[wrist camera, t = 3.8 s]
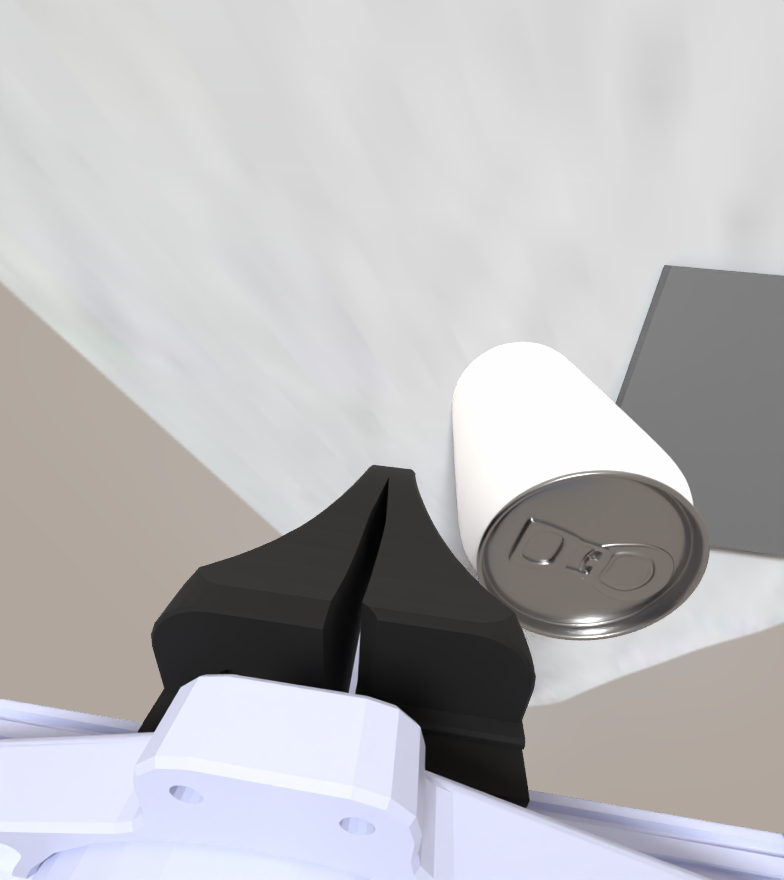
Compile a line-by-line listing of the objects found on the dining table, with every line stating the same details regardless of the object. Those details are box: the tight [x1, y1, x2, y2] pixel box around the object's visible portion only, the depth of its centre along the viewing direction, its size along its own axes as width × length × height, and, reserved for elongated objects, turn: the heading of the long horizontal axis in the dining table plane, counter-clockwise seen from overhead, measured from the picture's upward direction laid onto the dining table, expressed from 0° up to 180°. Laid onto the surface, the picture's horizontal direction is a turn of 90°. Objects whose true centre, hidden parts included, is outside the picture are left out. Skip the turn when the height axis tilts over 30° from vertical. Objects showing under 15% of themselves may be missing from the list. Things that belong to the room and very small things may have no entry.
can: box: [452, 342, 710, 640], centre depth 16 cm, size 6×6×12 cm
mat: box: [616, 265, 784, 556], centre depth 20 cm, size 14×12×1 cm
